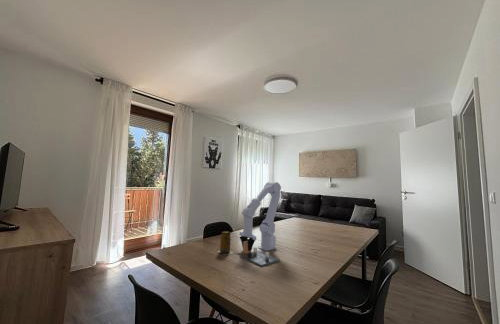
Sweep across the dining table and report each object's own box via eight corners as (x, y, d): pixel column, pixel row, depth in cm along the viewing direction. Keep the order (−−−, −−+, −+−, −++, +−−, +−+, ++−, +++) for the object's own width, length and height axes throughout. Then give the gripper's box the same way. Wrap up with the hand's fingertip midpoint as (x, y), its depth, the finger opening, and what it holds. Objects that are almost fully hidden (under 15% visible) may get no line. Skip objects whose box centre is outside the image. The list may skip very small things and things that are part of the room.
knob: (247, 249, 136) (247, 239, 137) (252, 252, 132) (253, 241, 133) (241, 251, 133) (241, 240, 134) (246, 253, 129) (246, 242, 130)
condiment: (226, 249, 135) (227, 230, 136) (234, 253, 129) (235, 233, 130) (216, 251, 131) (217, 231, 132) (224, 255, 124) (225, 234, 125)
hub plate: (258, 252, 132) (258, 244, 132) (279, 261, 118) (280, 252, 118) (240, 256, 123) (240, 247, 123) (261, 266, 109) (261, 256, 110)
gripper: (236, 225, 137) (235, 247, 136) (250, 229, 126) (249, 253, 125) (244, 224, 142) (243, 245, 140) (259, 228, 130) (258, 251, 129)
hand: (247, 249), depth 133 cm, fingers closed on knob, 5 cm apart
